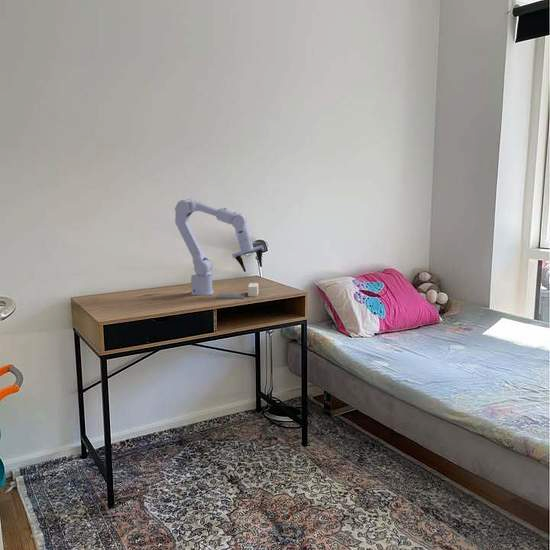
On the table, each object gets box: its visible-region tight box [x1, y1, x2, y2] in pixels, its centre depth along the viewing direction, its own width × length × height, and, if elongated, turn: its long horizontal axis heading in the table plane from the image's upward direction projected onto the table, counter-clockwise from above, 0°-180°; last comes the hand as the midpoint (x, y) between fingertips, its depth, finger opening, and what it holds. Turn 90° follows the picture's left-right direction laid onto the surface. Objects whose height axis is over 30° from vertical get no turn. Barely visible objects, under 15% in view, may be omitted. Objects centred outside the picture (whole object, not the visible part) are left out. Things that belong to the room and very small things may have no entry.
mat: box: [216, 292, 247, 299], centre depth 246 cm, size 12×9×1 cm
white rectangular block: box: [247, 282, 259, 297], centre depth 249 cm, size 4×8×4 cm, turn 178°
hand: (253, 269), depth 248 cm, fingers open, 7 cm apart
